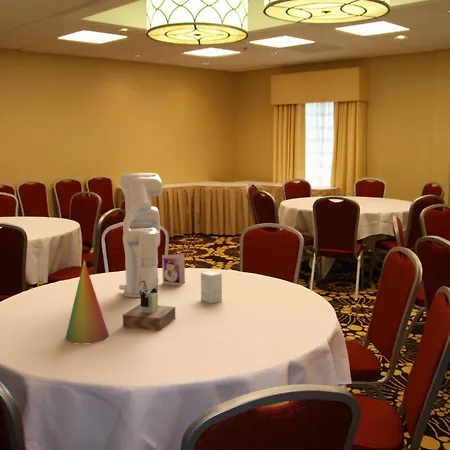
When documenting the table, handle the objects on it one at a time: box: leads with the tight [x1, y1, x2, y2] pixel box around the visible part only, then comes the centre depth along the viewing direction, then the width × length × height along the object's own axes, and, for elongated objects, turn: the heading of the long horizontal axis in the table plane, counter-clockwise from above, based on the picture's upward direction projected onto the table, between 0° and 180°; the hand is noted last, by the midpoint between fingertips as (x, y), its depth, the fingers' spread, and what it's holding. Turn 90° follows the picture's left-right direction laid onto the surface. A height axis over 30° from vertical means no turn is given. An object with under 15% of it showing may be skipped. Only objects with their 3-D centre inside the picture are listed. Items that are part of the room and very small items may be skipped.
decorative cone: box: [65, 259, 110, 345], centre depth 219 cm, size 16×16×30 cm
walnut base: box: [122, 303, 176, 332], centre depth 237 cm, size 16×16×5 cm
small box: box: [200, 270, 223, 304], centre depth 268 cm, size 8×6×13 cm
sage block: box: [141, 292, 159, 313], centre depth 236 cm, size 5×5×7 cm
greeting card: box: [161, 253, 186, 287], centre depth 300 cm, size 11×7×15 cm, turn 62°
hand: (149, 303), depth 236 cm, fingers open, 8 cm apart
